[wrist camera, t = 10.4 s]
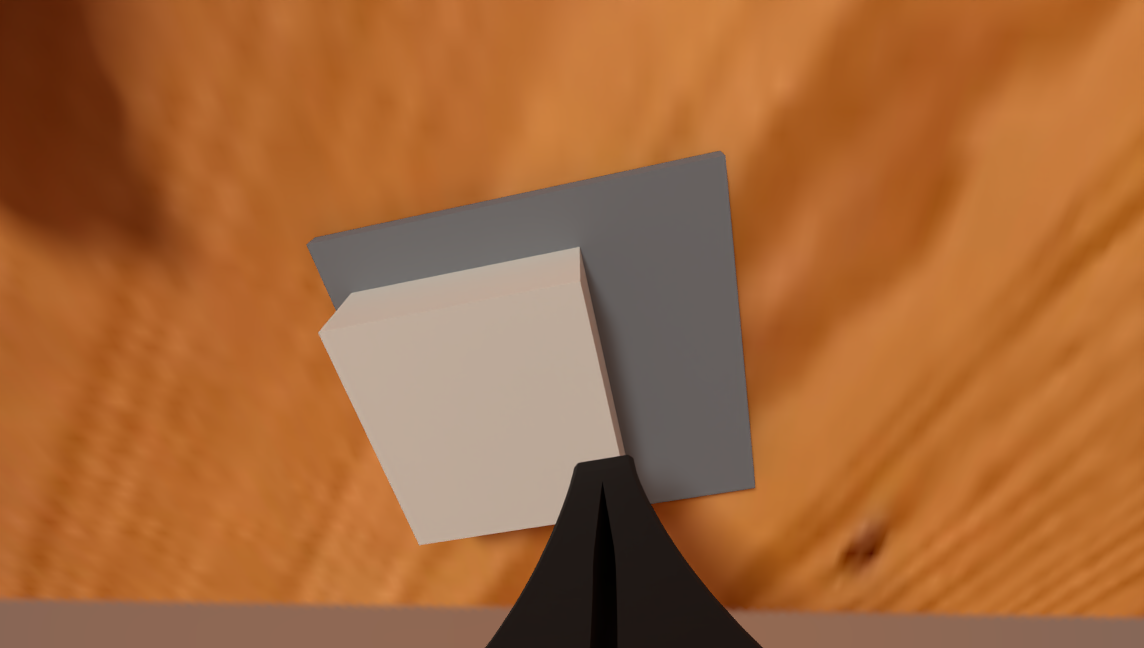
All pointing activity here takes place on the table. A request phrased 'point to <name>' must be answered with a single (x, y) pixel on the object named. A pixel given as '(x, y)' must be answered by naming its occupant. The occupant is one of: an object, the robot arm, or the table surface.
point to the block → (479, 391)
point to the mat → (611, 301)
